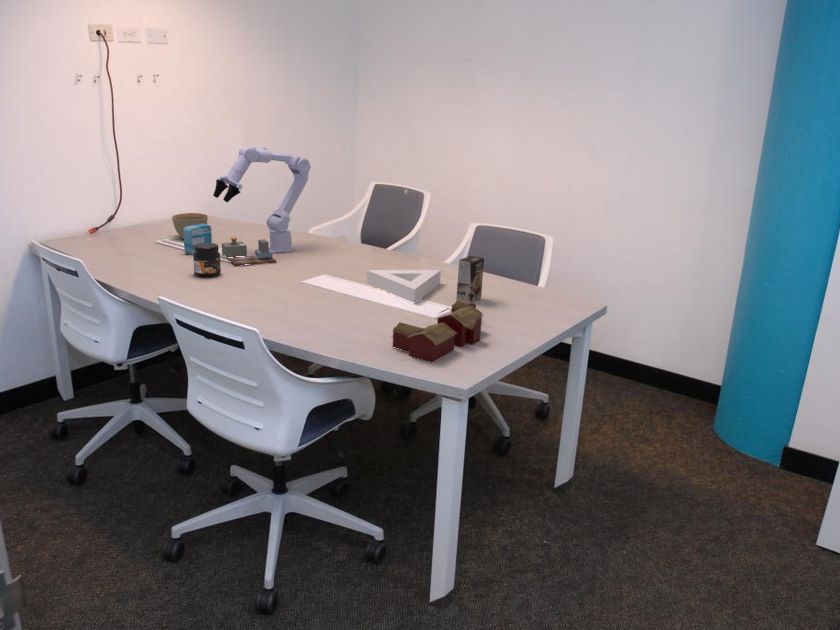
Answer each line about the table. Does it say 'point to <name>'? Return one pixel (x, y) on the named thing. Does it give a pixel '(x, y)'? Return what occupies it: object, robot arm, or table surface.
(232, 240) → the button
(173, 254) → the table surface
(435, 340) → the toy houses
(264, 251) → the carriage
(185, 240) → the data package
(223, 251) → the cabinet
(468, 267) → the coffee box
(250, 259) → the rail
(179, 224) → the planter bowl
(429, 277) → the triangle block
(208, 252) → the supplement container
